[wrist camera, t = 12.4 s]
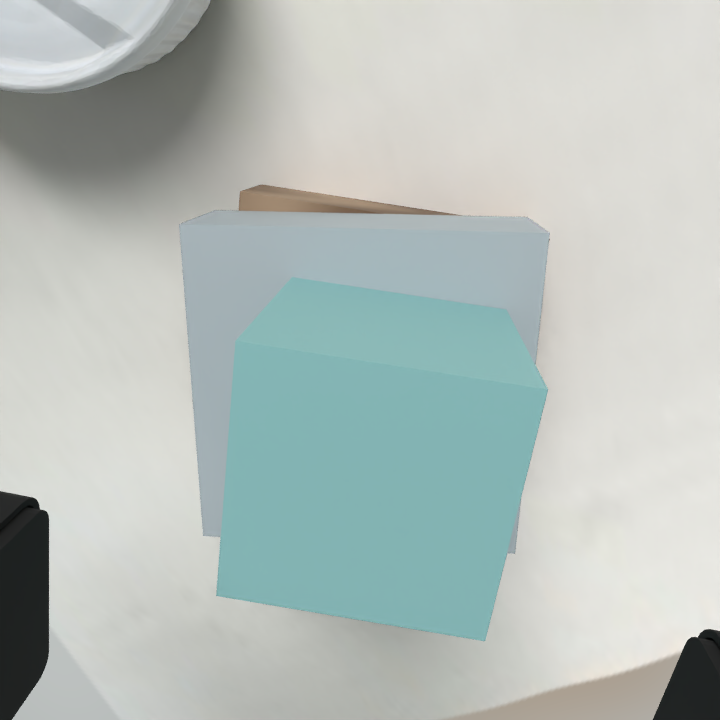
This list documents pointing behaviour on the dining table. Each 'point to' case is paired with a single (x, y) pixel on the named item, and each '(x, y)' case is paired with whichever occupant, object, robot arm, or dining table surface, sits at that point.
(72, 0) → the ramekin
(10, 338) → the dining table surface
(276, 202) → the walnut tile
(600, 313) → the dining table surface
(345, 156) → the dining table surface
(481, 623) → the teal block
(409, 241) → the slate tile
